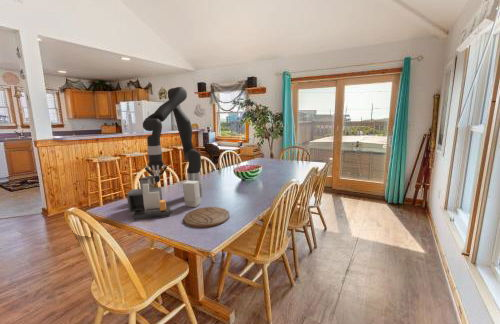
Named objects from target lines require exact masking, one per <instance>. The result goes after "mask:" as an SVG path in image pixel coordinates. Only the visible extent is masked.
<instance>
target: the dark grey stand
mask: <svg viewBox="0 0 500 324" xmlns="http://www.w3.org/2000/svg"><path fill="white" fill-rule="evenodd" d="M150 192H159V197H160V200H163V196H162V195H163V194H162V187H161V186H156V188H149V193H150ZM126 199H127V208H128V216H131V215H132V216H133V215H134V213H135V212H136V210H143V209H144V201H143V189H141V188H135V189H133V188H132V189H130V190H129V192H128V193H127V194H126Z"/></svg>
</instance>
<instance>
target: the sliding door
mask: <svg viewBox="0 0 500 324" xmlns="http://www.w3.org/2000/svg"><path fill="white" fill-rule="evenodd" d="M142 186H143V201H144V209H152V208H160V205H159V202H160V197H159V192H150V193H149V185H148V184H143V185H142Z"/></svg>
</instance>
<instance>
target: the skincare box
mask: <svg viewBox="0 0 500 324" xmlns="http://www.w3.org/2000/svg"><path fill="white" fill-rule="evenodd" d="M182 191H183V192H182V193H183V197H184V198H183V201H184V206H185V207H192V208H196V207H198V206H199V205H201V204H202V203H201V196H200V191H199V182H198V181H188V180H186V181H184V182H182Z"/></svg>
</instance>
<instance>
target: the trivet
mask: <svg viewBox="0 0 500 324" xmlns="http://www.w3.org/2000/svg"><path fill="white" fill-rule="evenodd" d="M229 219H230V211H229V210H227V209H226V208H222V207H218V206H207V207H206V206H205V207H199V208H196V209H192V210H191V211H189V212H188V213H186V214H185V215H184V217H183V221H184V224H186V226H189V227H192V228H199V229H200V228H201V229H202V228H203V229H204V228H212V227H218V226H220V225H222V224H224V223H226V222H227V221H229Z"/></svg>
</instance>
